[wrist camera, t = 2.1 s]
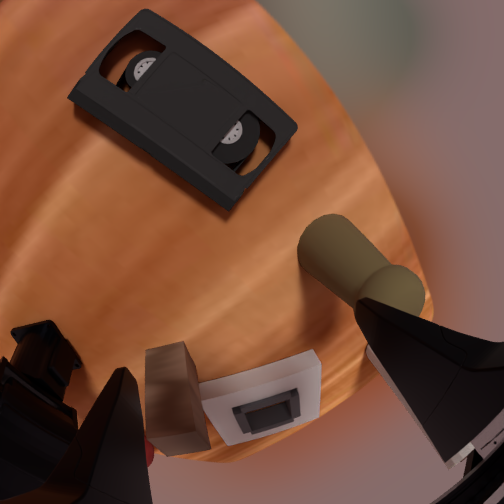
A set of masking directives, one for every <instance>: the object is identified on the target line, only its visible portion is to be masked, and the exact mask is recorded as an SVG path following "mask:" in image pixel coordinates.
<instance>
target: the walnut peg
mask: <svg viewBox="0 0 504 504" xmlns="http://www.w3.org/2000/svg"><path fill="white" fill-rule="evenodd" d="M145 417H146V439H147V440H148V441H149V442H150V443H152V444H153V445H154V446H155V447H156V448H157V449H159V450H160V451H161V452H162V453H163V454H165V455H166V456H167V457H168V456H175V455H182V454H188V453H194V452H200V451H205V450H210V449H211V446H210V441H209V437H208V432H207V427H206V422H205V417H204V412H203V406H202V401H201V395H200V390H199V384H198V378H197V372H196V366H195V364H194V362H193V360H192V358H191V356H190V354H189V352H188V350H187V347H186V345H185V343H184V341H182V342H177V343H173V344H169V345H165V346H161V347H156V348H152V349H148V350H146V356H145Z"/></svg>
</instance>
